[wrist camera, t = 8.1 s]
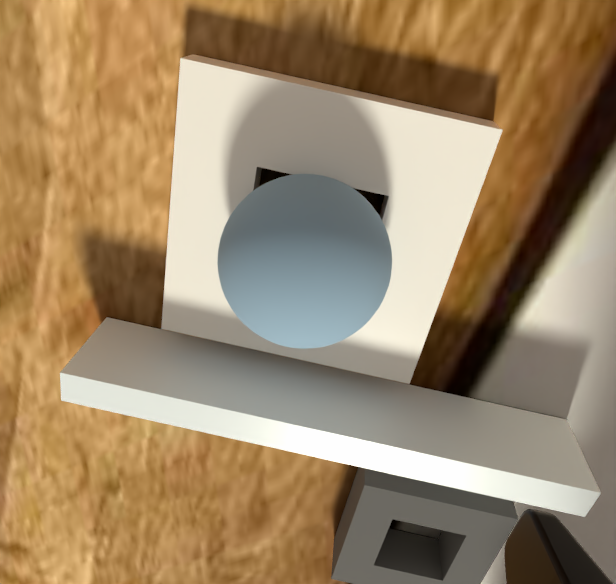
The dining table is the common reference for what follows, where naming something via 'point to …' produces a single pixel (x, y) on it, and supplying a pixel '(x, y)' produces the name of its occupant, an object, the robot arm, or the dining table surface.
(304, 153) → the white rectangular frame
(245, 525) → the dining table surface
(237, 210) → the ball
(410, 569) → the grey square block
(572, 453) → the divider wall
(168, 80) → the dining table surface
